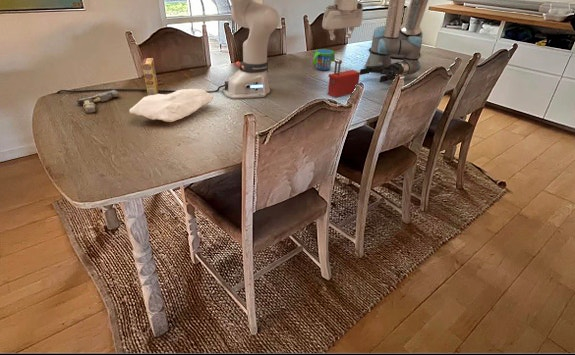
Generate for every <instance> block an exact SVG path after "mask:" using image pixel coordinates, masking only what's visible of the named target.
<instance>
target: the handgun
mask: <svg viewBox="0 0 575 355" xmlns="http://www.w3.org/2000/svg"><path fill="white" fill-rule="evenodd" d="M119 96H120V94H119V92H118V91H115V90H112V91H103V92H101V93H96V94H94V95H86V94H85V95H84V94H83V95H81V96H80V97H77V98H76V101H77V104H78V105H82V108H83V109H84V110H85V113H87V114H91V113H95V112H96V104H95V103H98V102H106V101H109V100H111V99H113V98H117V97H119Z"/></svg>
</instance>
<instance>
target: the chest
mask: <svg viewBox="0 0 575 355" xmlns="http://www.w3.org/2000/svg"><path fill="white" fill-rule="evenodd" d="M360 76H361V75H356V76H351V77H346V78H341V79H336V80H335V79H333V78H331V77H328V78H329V79H328V87H327V88H328V89H327V95H328V96H330V97H333V98H339V97H343V96H346V95H351V93H352V92H353V91H354V89H355V85H356V84H358V85H359V83H360ZM352 94H353V93H352Z"/></svg>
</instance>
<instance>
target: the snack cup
mask: <svg viewBox="0 0 575 355" xmlns="http://www.w3.org/2000/svg"><path fill="white" fill-rule="evenodd" d="M335 56H336V54H335V51H334V50H332V49H327V48H318V49H316V50H315V52H314V55H313V58H312V64H313V65H314V66H316V69H317V70H320V71H328V70H330V68H331V65H332V62H334V60H335V59H336V57H335ZM334 63H335V62H334Z"/></svg>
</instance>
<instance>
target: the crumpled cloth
mask: <svg viewBox="0 0 575 355" xmlns="http://www.w3.org/2000/svg"><path fill="white" fill-rule="evenodd" d="M174 91H175V92H170V93H167V94H163V93H158V94H156V95H150V96H148V95H146V96H144V97H142V98H141V99H140V100H139V101H138V102H137V103H136V104H134V105H133V106H132V107H131V108H129V114H130V115H135V116H140V117H145V118H146V119H149V120H152V121H155V120H158V121H163V122H166V123H174V122H176V121H178V120H181V119H183V118H185V117H188V116H190V115H192V114H193V113H195V112H196V111H197V110H199V109H200V108H202V107H204V106H206V105H207V104H210V102H211V101H212V100H213V99H214V98H213V97H214V96H213V94H212V93H208V92H206V90H203V89H201V88H187V89H186V88H185V89H184V88H183V89H177V90H174Z"/></svg>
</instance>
